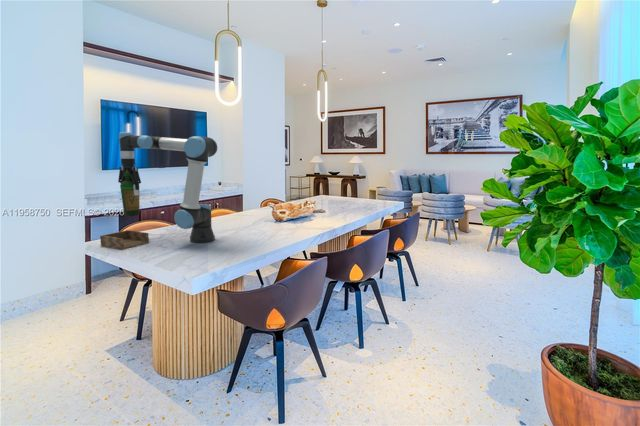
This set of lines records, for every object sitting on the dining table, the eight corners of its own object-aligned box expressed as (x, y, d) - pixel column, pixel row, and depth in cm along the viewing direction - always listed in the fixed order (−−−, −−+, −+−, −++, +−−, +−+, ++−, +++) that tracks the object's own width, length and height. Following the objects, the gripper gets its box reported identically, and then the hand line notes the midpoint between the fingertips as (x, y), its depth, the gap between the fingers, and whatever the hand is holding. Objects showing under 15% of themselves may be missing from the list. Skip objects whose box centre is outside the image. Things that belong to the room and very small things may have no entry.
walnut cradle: (148, 243, 222) (148, 233, 221) (122, 249, 206) (121, 239, 205) (128, 239, 230) (127, 230, 229) (101, 246, 213) (100, 235, 212)
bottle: (133, 217, 220) (129, 170, 215) (118, 216, 222) (114, 170, 218) (145, 214, 230) (142, 169, 226) (130, 213, 232) (127, 169, 228)
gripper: (146, 158, 219) (148, 195, 222) (121, 158, 229) (123, 193, 232) (134, 158, 212) (137, 196, 216) (109, 158, 222) (112, 194, 226)
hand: (130, 194), depth 224 cm, fingers closed on bottle, 10 cm apart
